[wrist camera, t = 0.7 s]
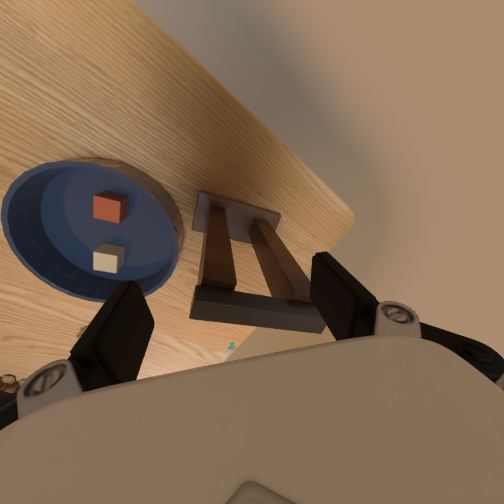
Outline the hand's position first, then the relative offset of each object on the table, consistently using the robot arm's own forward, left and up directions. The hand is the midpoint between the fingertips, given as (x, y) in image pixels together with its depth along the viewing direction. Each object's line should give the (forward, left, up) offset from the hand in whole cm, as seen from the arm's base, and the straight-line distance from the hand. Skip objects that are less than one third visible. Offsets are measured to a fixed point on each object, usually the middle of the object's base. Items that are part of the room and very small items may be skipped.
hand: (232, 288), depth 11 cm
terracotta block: (+5, -14, -22) cm, 26 cm away
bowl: (+9, -14, -23) cm, 28 cm away
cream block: (+13, -14, -22) cm, 29 cm away
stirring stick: (+3, +3, -3) cm, 5 cm away
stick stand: (+3, +3, -23) cm, 23 cm away
